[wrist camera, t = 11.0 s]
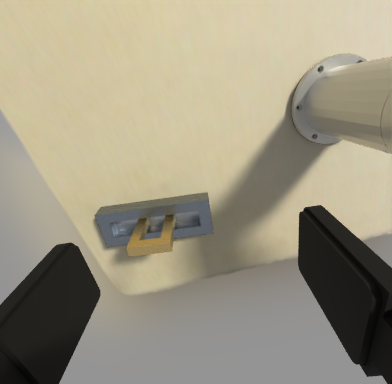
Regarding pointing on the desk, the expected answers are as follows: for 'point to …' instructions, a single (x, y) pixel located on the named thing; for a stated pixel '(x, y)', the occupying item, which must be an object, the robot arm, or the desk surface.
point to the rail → (155, 218)
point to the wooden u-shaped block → (151, 246)
